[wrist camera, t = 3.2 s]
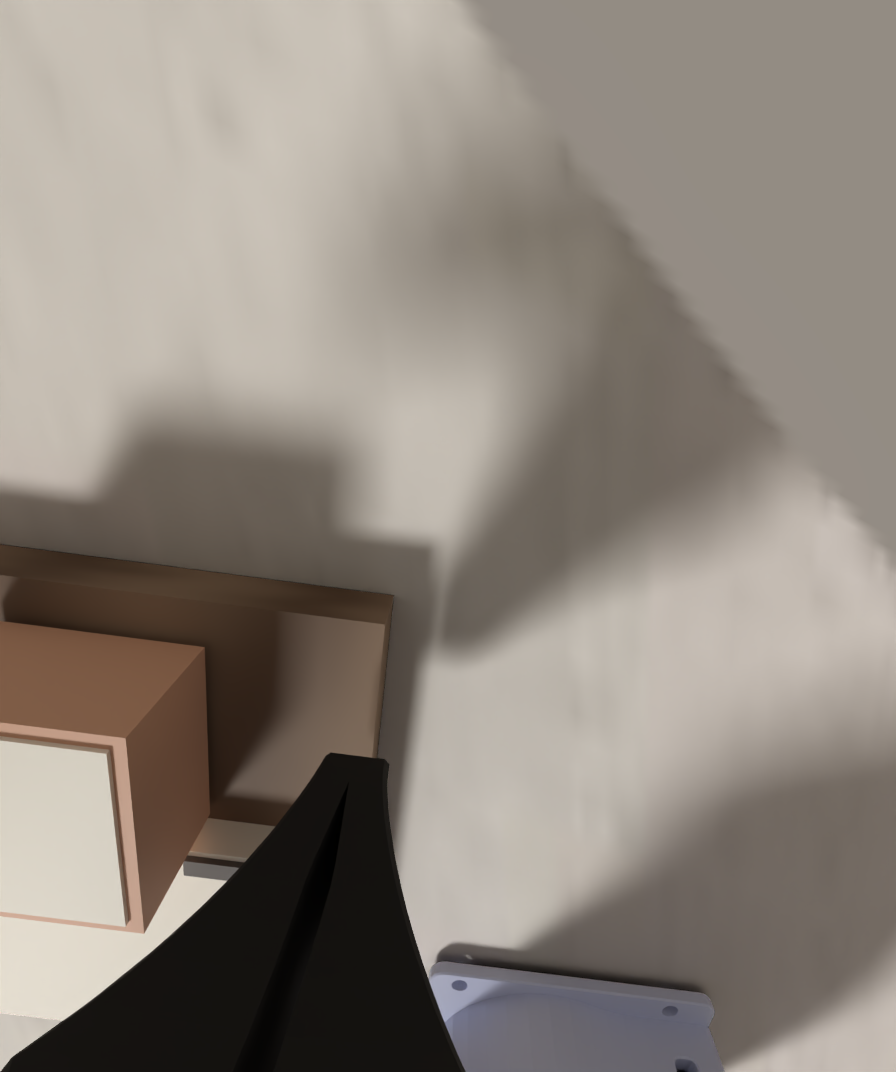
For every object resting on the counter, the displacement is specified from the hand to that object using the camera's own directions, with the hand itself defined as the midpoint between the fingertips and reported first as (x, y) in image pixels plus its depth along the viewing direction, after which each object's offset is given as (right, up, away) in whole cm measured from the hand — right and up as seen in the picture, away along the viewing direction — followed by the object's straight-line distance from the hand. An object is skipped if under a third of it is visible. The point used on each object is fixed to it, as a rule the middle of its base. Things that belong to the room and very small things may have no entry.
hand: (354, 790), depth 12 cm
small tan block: (-6, +1, +1) cm, 6 cm away
